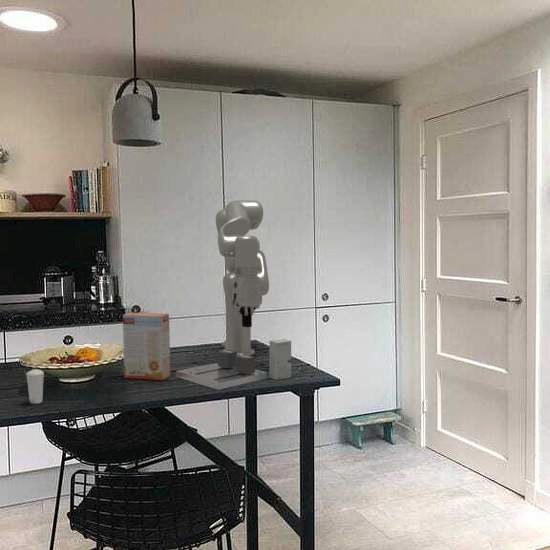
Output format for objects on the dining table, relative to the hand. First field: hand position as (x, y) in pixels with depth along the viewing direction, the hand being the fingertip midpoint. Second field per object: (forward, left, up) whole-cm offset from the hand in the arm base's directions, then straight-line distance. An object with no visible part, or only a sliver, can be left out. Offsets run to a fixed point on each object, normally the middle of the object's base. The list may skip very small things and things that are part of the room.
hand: (246, 326), depth 208 cm
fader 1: (0, -8, -12) cm, 15 cm away
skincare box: (+16, +1, -15) cm, 22 cm away
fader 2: (+10, -9, -13) cm, 18 cm away
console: (+3, -13, -15) cm, 20 cm away
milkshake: (-11, -68, -15) cm, 71 cm away
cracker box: (-14, -30, -15) cm, 37 cm away
